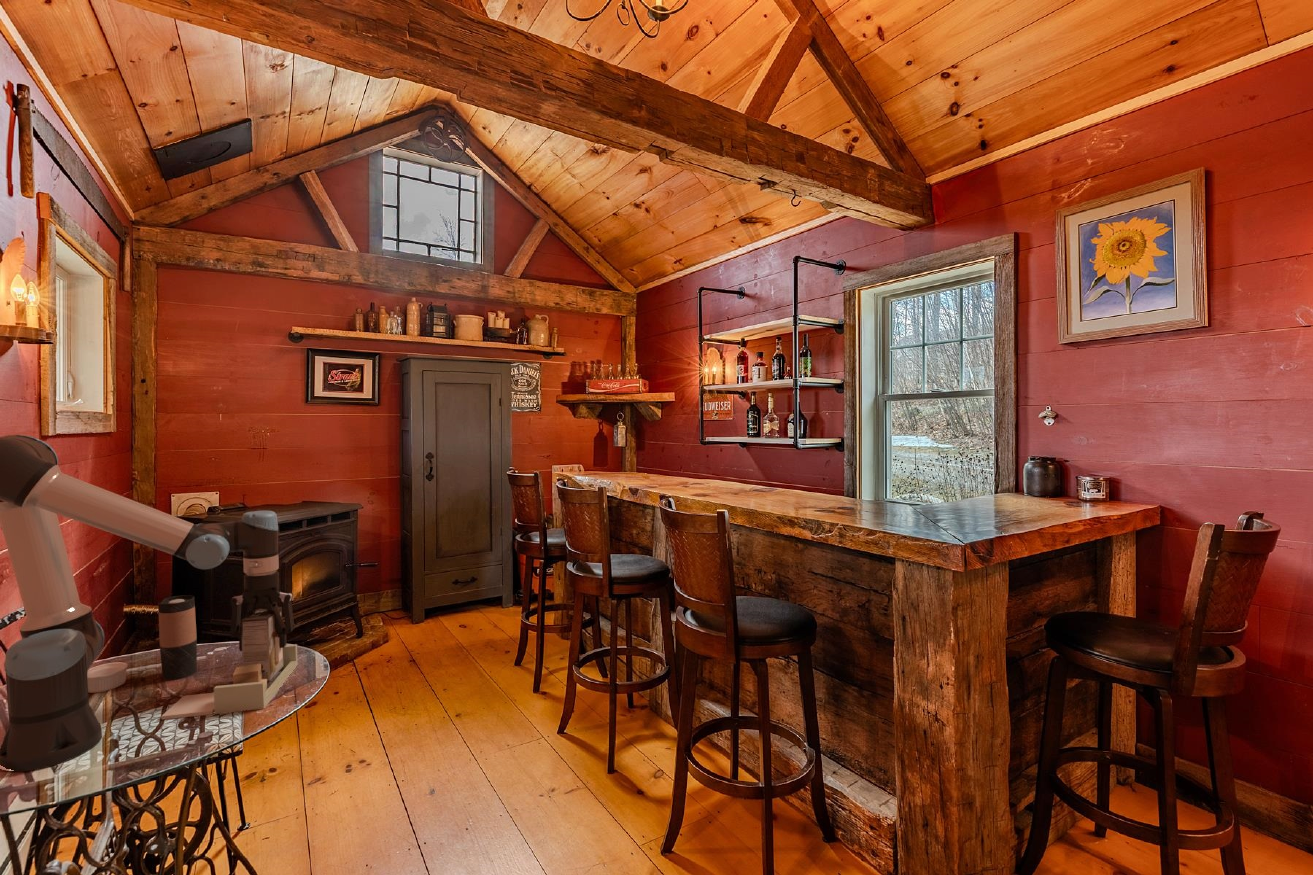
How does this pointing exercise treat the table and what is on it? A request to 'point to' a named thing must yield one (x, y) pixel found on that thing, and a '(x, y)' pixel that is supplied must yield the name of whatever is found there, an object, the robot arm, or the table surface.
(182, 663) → the travel mug
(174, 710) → the plate
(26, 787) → the table surface
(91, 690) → the round wooden block
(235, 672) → the offcut top
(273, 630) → the coffee box
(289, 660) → the rack
